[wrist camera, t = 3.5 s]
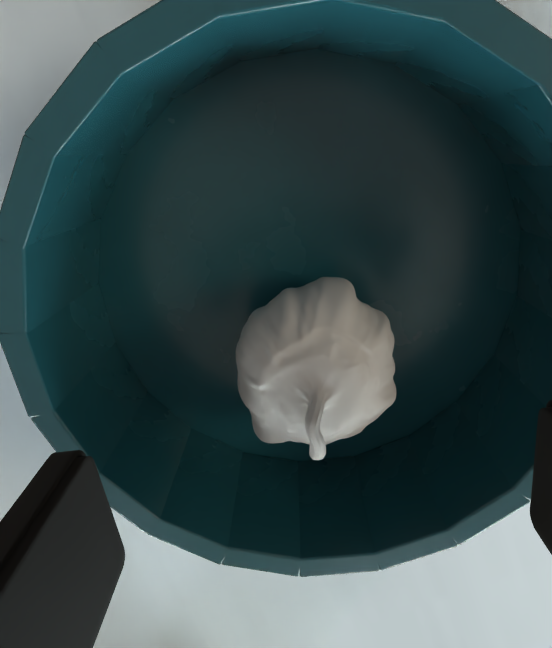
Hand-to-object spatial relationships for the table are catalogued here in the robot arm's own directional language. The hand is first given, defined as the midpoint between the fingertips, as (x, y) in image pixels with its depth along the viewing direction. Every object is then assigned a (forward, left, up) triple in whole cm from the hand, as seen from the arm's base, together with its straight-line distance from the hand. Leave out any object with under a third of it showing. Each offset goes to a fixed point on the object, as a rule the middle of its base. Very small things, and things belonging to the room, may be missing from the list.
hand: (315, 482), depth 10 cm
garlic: (0, 0, -8) cm, 8 cm away
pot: (0, -2, -9) cm, 9 cm away
